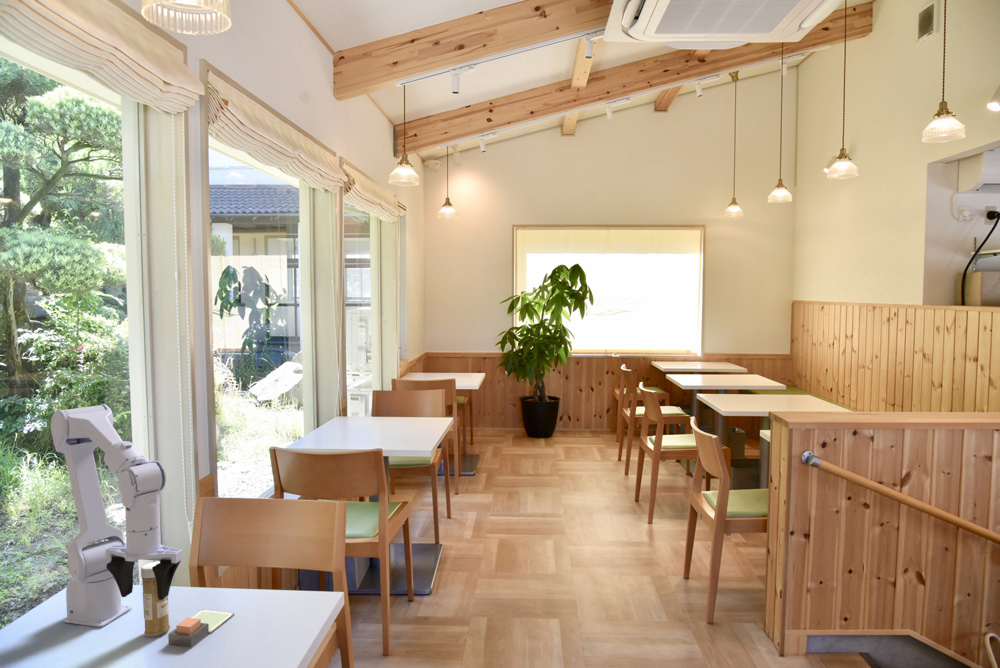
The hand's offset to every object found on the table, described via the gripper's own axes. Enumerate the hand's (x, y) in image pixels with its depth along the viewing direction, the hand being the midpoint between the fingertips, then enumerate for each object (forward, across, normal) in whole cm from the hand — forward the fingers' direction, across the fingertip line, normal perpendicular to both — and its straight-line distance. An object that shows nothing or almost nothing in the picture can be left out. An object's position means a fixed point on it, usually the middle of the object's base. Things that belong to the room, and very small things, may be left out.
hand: (145, 596), depth 121 cm
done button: (+8, +7, +2) cm, 11 cm away
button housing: (+9, +7, +2) cm, 12 cm away
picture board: (+9, +7, +9) cm, 15 cm away
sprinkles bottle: (+9, 0, +4) cm, 10 cm away
